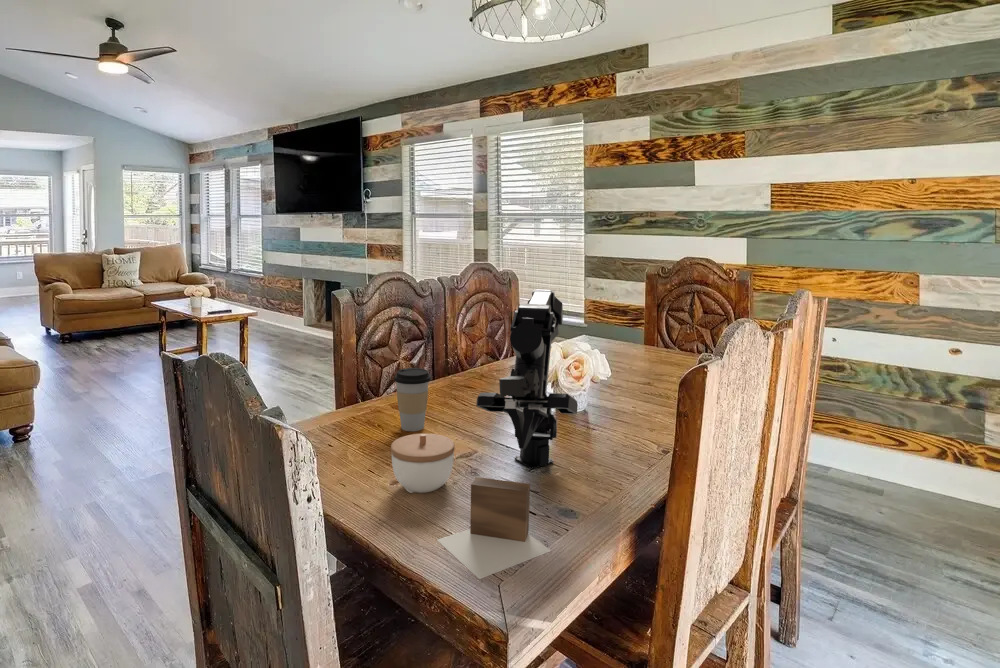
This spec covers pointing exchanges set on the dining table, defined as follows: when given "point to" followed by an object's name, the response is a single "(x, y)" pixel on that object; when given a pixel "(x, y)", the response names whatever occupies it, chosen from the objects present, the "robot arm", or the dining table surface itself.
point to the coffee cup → (412, 397)
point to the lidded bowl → (422, 461)
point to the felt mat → (490, 551)
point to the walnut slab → (500, 509)
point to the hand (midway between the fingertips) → (522, 448)
